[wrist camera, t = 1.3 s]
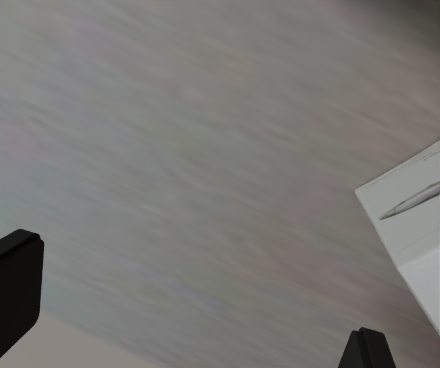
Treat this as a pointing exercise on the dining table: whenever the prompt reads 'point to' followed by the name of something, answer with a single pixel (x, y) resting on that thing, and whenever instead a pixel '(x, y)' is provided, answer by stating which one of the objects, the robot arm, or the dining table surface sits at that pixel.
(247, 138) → the dining table surface
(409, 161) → the supplement box
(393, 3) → the dining table surface
